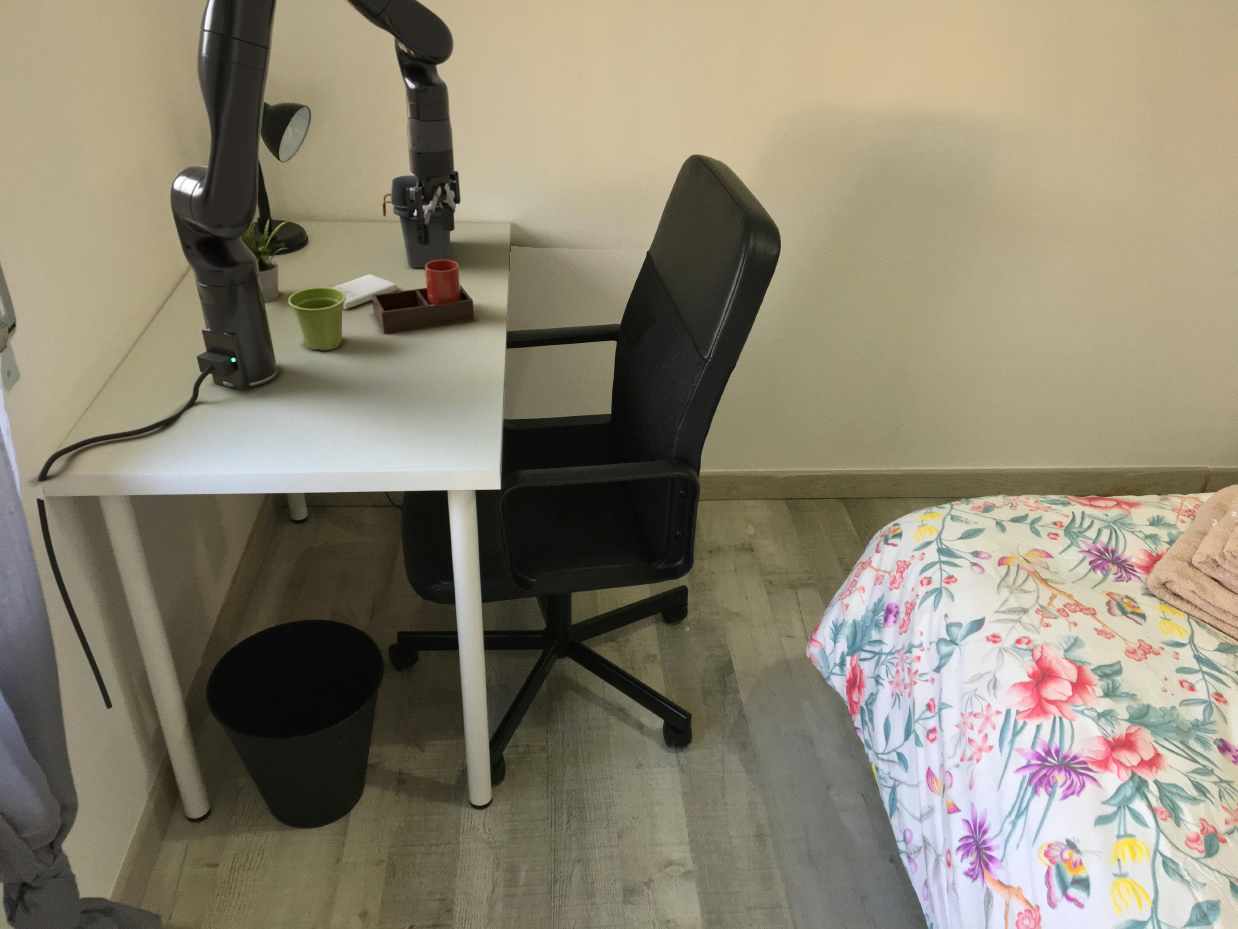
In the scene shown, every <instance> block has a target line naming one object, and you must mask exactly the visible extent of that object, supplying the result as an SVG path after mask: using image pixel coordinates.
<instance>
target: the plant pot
mask: <svg viewBox="0 0 1238 929" xmlns="http://www.w3.org/2000/svg"><path fill="white" fill-rule="evenodd" d="M345 300H346V295H345V293H344V292H342V291H340V290H338V289H334V288H333V287H325V286H324V287H323V286H322V287H318V286H317V287H309V288H304V289H301V290H298V291H296V292H294V293H293V294H291V295H290V296H289V297H288V305H289V306H290V307H291V308H292V310H293V312H294V313H295V315H296V319H297V321H298V322H297V323H298V325H299V328H300V331H301V334H302V338H303V340H304V345H305V346H306V347H307V348H308V349H310V350H313V351H316V350H321V351H330V350H334V349H337V348H338V347H339V346H340V345H341V343H342V342H343V306H344V302H345Z"/></svg>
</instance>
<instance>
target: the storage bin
mask: <svg viewBox="0 0 1238 929" xmlns="http://www.w3.org/2000/svg"><path fill="white" fill-rule="evenodd" d="M416 184H417V177H416V176H415V175H414V174H412V175H400V176H396V177H394V178H393V179H392V180H391V189H390V193H385V194H384V195H383V198H382V216H383V217H386V215H387V205H386V204H391V205H392V213H393V214H394V215H395V216H398V217H399V222H400V226H401V231H402V236H403V242H404V248H405V254H406V260H407V263H408V266H409V267H410V268H413V269H417V268H419V269H420V268H421V269H422V268H425V265H426V264H427V263H428V262H431V261H434V260H451V231H446V230H443V229H442V217H441V210H442V209H443V208H441V206H440V204H438V205H437V206H436V207H435V211H434V212H433V213H431V216H430V219H429V223H428V224H429V227H430V244H429V245H422V244H419V243H418V240H417V230H416V224H415V223H412V222H408V221H407V204H406V188H407V187H416ZM451 193H452V195H453V196H454V197H455V194H454V191H451ZM388 196H389V197H390V200H386V198H387V197H388ZM422 202H423V201H422ZM423 205H425V204H424V203H423ZM426 206H428V205H426ZM414 213H415V209H413V215H414ZM455 213H456V209H455V210H454V214H455ZM424 215H425V212H424V211H423V217H424Z"/></svg>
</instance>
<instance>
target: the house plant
mask: <svg viewBox="0 0 1238 929" xmlns="http://www.w3.org/2000/svg"><path fill="white" fill-rule="evenodd" d="M288 222H289V220H287V221H284V222H282V223H280V224H279V225H277V226H276V227H275V229H274V230H273V231H272V232H271V234H270V235H269V236H268V234H269V233H270V232H268V231H269V226H270V218H268V219H267V221H266V224H265V227H264V231H263V234H262V235H261V236H260V237H259V238H258V242H257V243H256V239H255V233H254V227H255V225H256V224H257V222H255V223H254V222H253V223H252V225H251V227H250V228H249V230H248V231H247V232H246V233H245V234H244V235H243V236H241V237H240V238H241V239H242V241H243V242H244V244H245V245H246V246H247V247H248V249H249V250H250V251H251V252H252V253H253V254H254V255H255V257H256V260H257V264H258V269H259V275H260V281H261V286H262V292H263V297H264V302H269V301H273V300H276V299H277V298H278V297H279V263H278V262H277V261H275V260H272V259H273V258H274V256H275V255H276V254H277V253H278V252H280V251H282V250H288V247H285V246H286V245H285V244H271V245H269V243H270V241H271V239H272V238H273V237H274V235H275V234H276V233H277V232H278V230H279V229H280V227H282V226H283V225H285V224H286V223H288ZM281 246H282V247H281ZM278 247H280V248H279V249H277V250H275V252H274V253H272V256H271V258H270V254H271V252H272V251H273V250H274V249H275V248H278Z"/></svg>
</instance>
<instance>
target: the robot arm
mask: <svg viewBox="0 0 1238 929" xmlns="http://www.w3.org/2000/svg"><path fill="white" fill-rule="evenodd" d="M344 1H345V2H346V3H347V4H348V5H349V6H350V7H351V8H352V9H354V10H355V11H356V12H357V13H358V14H359V15H361V16H362V17H363V18H364V19H366V20H367V21H368V22H369V23H370V24H372V25H374V27H377V28H379V29H381V30H383V31H385V32H387V33H388V34H390V35H392V36H393V37H394V38H393V42H394V50H395V55H396V59H397V63H398V67H399V72H400V76H401V78H402V81H403V85H404V89H405V102H406V104H405V105H406V115H407V124H406V132H407V133H406V136H407V148H408V161H409V162H408V163H409V171H410V173H412V175H415V176H416V177H417V184H416V187H407V188H406V204H407V221H408V222H412V223H415V224H416V230H417V240H418V243H419V244H422V245H429V244H430V227H429V224H428V223H429V219H430V216H431V213H433V212H434V211H435V207H436V206H437V205H438V204H440V206H441V208H443V209H442V210H441V217H442V229H443V230H446V231H450V232H452V231H453V232H454V230H455V229H456V228H455V227H456V226H455V213H454V210H455V211H456V207H457V205H460V204H461V200H462V199H461V190H460V189H461V188H460V175H459V171H458V170H455V162H454V161H455V159H454V158H455V157H454V139H453V128H452V123H451V113H450V111H451V110H450V95H449V87H448V86H447V83H446V82H445V81H444V80H443V78H441V77H440V75H439V72H438V68H437V66H438V65H442V64H444V63H446V62H447V61H448V60H449V59H450V58H451V56H452V54H453V51H454V46H455V45H454V44H455V43H454V37H453V34H452V31H451V30H450V27H449V26H448V25H447V23H446V22H445V21H444V20H443V19H442V18H441V17H439V15H438V14H436V13H435V12H433V11H432V10H431V9H430V8H428V7H427V6H426V5H424V4H422V3H421V2H420V1H419V0H344ZM277 2H278V0H206V3H205V6H204V9H203V13H202V16H201V23H200V27H199V28H200V29H199V38H198V45H197V56H196V72H197V78H198V83H199V88H200V93H201V97H202V101H203V104H204V108H205V112H206V115H207V120H208V125H209V139H210V140H209V151H208V159H207V166H205V165H191V166H187V167H185V168H183V169H182V170H180V171H179V172H178V173H177V174H176V175H175V177H174V178H173V181H172V183H171V186H170V192H169V203H170V209H171V213H172V218H173V222H174V225H175V228H176V233H177V235H178V239H179V242H180V247H181V250H182V253H183V255H184V258H185V260H186V262H187V263H188V265H189V266H190V268H191V270H192V272H193V276H194V281H195V285H196V289H197V293H198V298H199V302H200V303H199V304H200V306H201V311H202V316H203V320H204V324H205V327H204V328H202V329H201V333H202V338H203V342H204V347H205V351H203V352H202V353H200V354H198V355H196V360H197V365H198V369H199V372H200V374H199V376H198V377H197V379H196V380H195V382H194V384H193V387H192V395H191V397H190V398H189V400H188V401H187V402H186V404H185V405H184V406H183V407H182V408H181V409H180V410H179V411H178V412H177V413H175V414H173V415H172V416H169V417H166V418H164V419H162V420H159V421H157V422H154V423H152V424H150V425H147V426H144V427H141V428H136V429H132V430H126V431H121V432H115V433H114V432H113V433H108V434H102V435H98V436H93V437H90V438H86V439H83V440H80V441H77V442H75V443H73V444H70V445H68V446H66V447H64V448H62V449H59V450H57V451H56V452H54V453H53V454H51V455H50V457H48V459H47V460H46V461H45V462H44V464H43V466H42V468H41V470H40V472H39V474H38V477H37V480H36V481H37V482H43V481H45V480H46V478H47V475H48V473H49V472H50V469H51V468H52V466H53V464H54V463H55V462H56V461H58V460H59V459H60V458H61V457H63V456H65V455H68V454H69V453H71V452H74V451H76V450H79V449H80V448H84V447H86V446H89V445H93V444H96V443H100V442H106V441H111V440H118V439H122V438H123V439H124V438H130V437H135V436H139V435H142V434H146V433H149V432H151V431H154V430H157V429H159V428H161V427H164V426H166V425H168V424H171V423H173V422H174V421H176V420H178V418H180V417H181V416H182V415H183V414H184V413H185V412H186V411H187V410H189V409H190V408H191V407H193V406H194V404H195V403H196V401H197V400H198V398H199V394H200V387H201V385H202V383H203V382H204V380H205V379H206V378H207V377H208V376H209V375H211V376H212V377H211V378H212V381H213V383H214V384H217V385H221V386H224V387H229V388H233V389H237V390H240V391H246V390H248V389H250V388H253V387H258V386H261V385H264V384H266V383H269V382H271V381H272V380H273V379H275V378H276V377H277V376H278V374H279V368H278V364H277V360H276V356H275V349H274V344H273V340H272V334H271V329H270V324H269V319H268V312H267V308H266V303H265V302H266V301H264V297H263V292H262V286H261V281H260V275H259V269H258V264H257V260H256V257H255V255H254V254H253V253H252V252H251V251H250V250H249V249H248V247H247V246H246V245H245V244H244V242H243V241H242V239H241V238H240V237H241V236H242V237H244V236H245V235H244V234H245V233H246V232H247V231H248V230H249V228H250V229H251V228H252V223H253V224H254V221H255V218H256V214H257V210H258V201H259V200H258V199H259V156H260V142H261V131H262V124H263V114H264V104H265V96H266V89H267V83H268V77H269V71H270V62H271V56H272V47H273V35H274V27H275V19H276V10H277ZM451 191H454V194H455V197H454V196H453V195H452V193H451ZM422 201H423V202H422ZM423 203H424V204H425V205H423ZM426 205H428V206H426ZM413 209H415V213H414V215H413ZM423 211H424V212H425V215H424V217H423ZM36 504H37V510H38V518H39V522H40V523H39V524H40V528H41V534H42V537H43V542H44V547H45V550H46V553H47V558H48V562H49V564H50V567H51V570H52V574H53V576H54V579H55V582H56V585H57V588H58V591H59V594H60V596H61V599H62V601H63V603H64V606H65V609H66V612H67V614H68V616H69V619H70V622H71V623H72V625H73V628H74V630H75V632H76V633H75V634H76V635H77V637H78V640H79V642H80V644H81V647H82V649H83V651H84V654H85V656H86V659H87V661H88V663H89V666H90V668H91V670H92V673H93V675H94V678H95V680H96V683H97V685H98V689H99V691H100V693H101V696H102V699H103V702H104V705H105V707H106V709H107V710H109V709H112V708H113V703H112V701H111V697H110V695H109V693H108V689H107V687H106V684H105V682H104V678H103V677H102V673H101V672H100V669H99V666H98V663H97V661H96V658H95V656H94V654H93V652H92V650H91V647H90V645H89V643H88V639H87V638H86V635H85V633H84V630H83V627H82V625H81V623H80V621H79V618H78V616H77V614H76V610H75V609H74V606H73V603H72V600H71V599H70V598H71V597H70V596H69V593H68V590H67V588H66V585H65V582H64V580H63V577H62V573H61V570H60V567H59V564H58V561H57V557H56V554H55V550H54V547H53V546H54V545H53V542H52V538H51V533H50V529H49V528H50V527H49V522H48V517H47V510H46V505H45V500H44V499H42V498H38V497H37V498H36Z"/></svg>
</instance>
